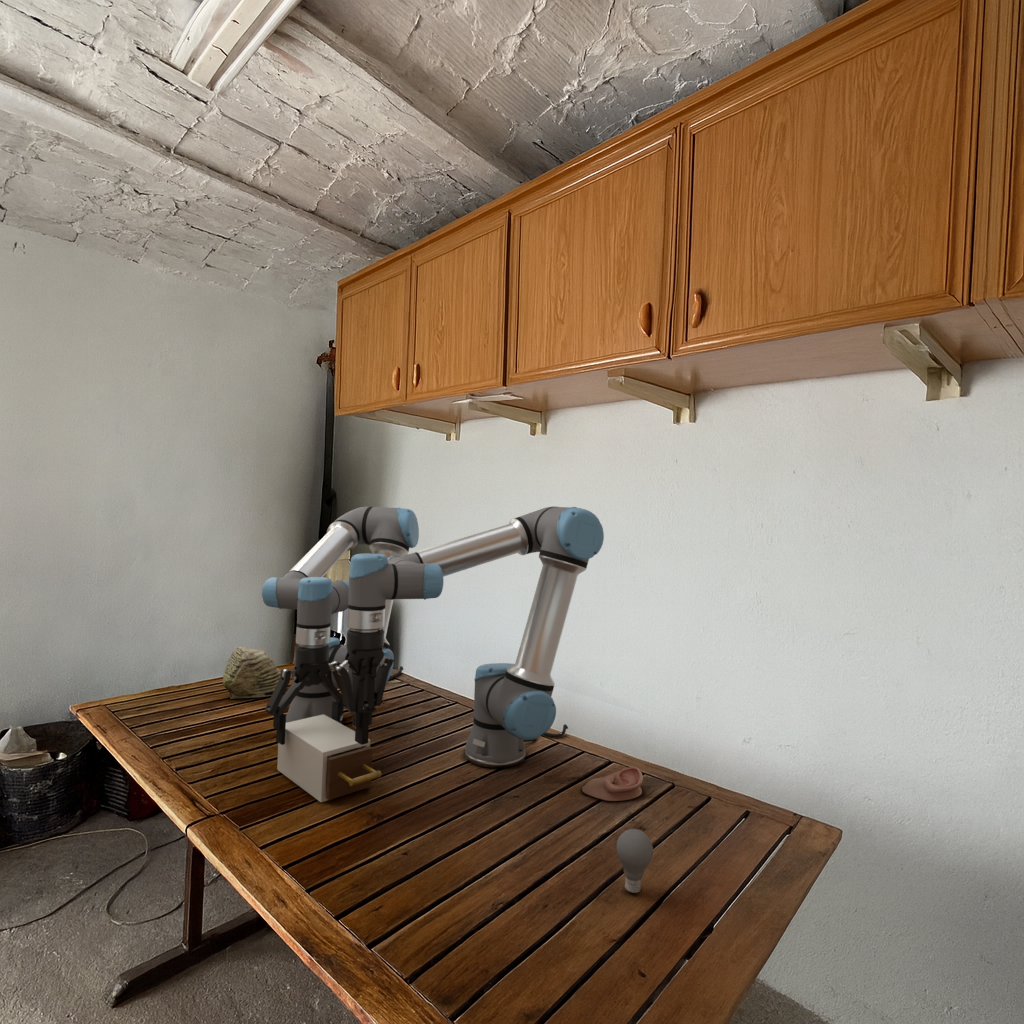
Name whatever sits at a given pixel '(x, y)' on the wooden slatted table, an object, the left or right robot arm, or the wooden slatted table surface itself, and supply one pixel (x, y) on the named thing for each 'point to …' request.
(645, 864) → the light bulb
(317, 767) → the cabinet
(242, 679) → the fossil
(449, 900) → the wooden slatted table surface
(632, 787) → the anatomical model
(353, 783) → the drawer
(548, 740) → the wooden slatted table surface
